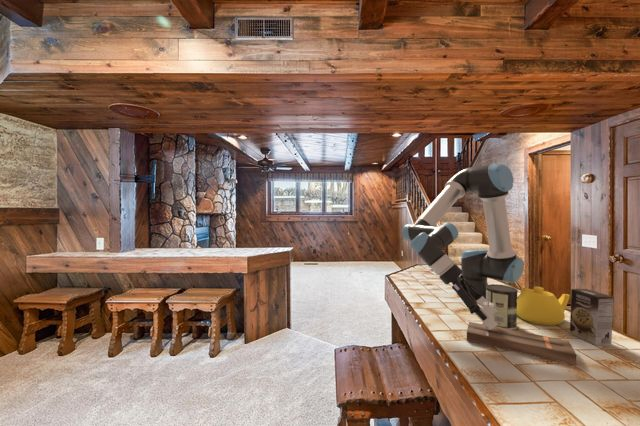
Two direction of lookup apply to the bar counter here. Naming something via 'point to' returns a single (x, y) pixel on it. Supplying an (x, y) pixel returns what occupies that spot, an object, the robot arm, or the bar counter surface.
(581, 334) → the cookie box
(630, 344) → the bar counter surface
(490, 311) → the fader
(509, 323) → the coffee can
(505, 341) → the brown slab
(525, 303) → the teapot
